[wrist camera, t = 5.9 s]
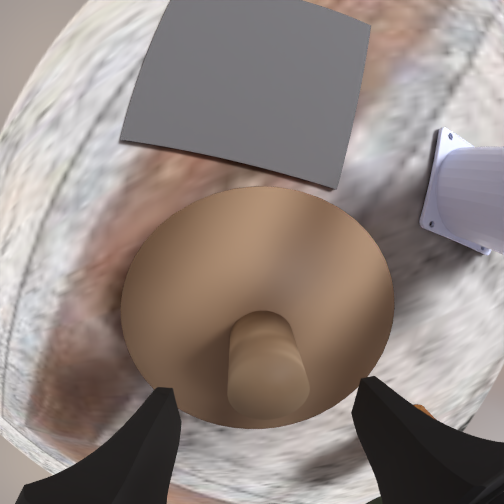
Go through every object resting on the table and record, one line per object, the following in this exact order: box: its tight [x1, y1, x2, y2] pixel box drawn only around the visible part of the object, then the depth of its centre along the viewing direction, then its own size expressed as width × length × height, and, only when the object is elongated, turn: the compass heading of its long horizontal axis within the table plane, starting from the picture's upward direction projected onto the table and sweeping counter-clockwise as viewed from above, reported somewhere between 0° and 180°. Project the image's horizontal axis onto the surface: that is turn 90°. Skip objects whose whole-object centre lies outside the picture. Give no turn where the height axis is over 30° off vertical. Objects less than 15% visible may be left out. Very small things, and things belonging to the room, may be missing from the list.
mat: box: [120, 0, 371, 189], centre depth 15 cm, size 14×13×1 cm
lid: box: [121, 186, 394, 429], centre depth 12 cm, size 14×14×5 cm
